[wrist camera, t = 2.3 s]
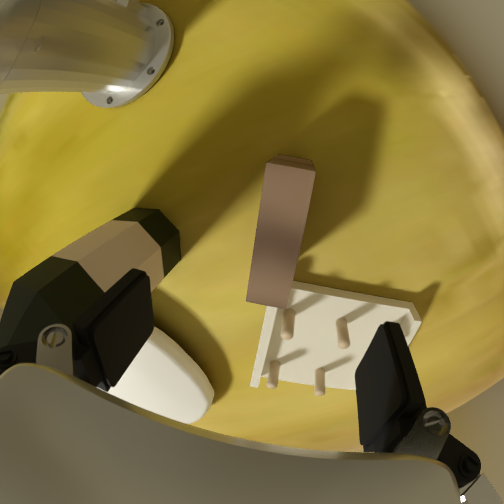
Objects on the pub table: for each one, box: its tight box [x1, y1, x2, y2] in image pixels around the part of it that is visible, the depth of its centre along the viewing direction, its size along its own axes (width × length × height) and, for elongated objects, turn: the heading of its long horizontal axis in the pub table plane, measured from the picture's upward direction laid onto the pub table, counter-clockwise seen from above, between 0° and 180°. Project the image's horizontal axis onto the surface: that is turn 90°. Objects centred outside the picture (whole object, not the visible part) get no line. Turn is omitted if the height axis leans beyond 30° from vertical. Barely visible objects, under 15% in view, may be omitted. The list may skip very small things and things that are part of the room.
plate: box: [97, 326, 214, 424], centre depth 36 cm, size 28×6×27 cm
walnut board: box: [246, 154, 316, 309], centre depth 21 cm, size 10×3×8 cm, turn 172°
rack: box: [250, 281, 422, 396], centre depth 28 cm, size 14×16×5 cm
